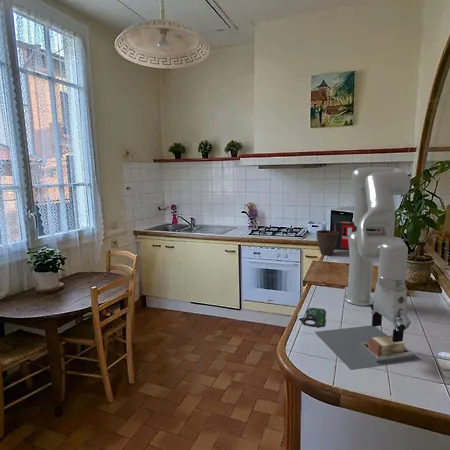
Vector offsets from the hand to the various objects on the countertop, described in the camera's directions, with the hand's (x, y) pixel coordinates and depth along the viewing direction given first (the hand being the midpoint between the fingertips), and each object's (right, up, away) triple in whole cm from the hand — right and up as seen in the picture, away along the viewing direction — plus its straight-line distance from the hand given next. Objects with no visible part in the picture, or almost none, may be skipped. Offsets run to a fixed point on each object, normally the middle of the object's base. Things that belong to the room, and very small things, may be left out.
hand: (386, 333), depth 102 cm
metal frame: (0, -7, +1) cm, 7 cm away
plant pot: (+20, +14, +123) cm, 126 cm away
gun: (-16, -3, +26) cm, 31 cm away
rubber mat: (-5, -6, +5) cm, 9 cm away
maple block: (0, -6, +1) cm, 6 cm away
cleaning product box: (+39, +16, +139) cm, 145 cm away
